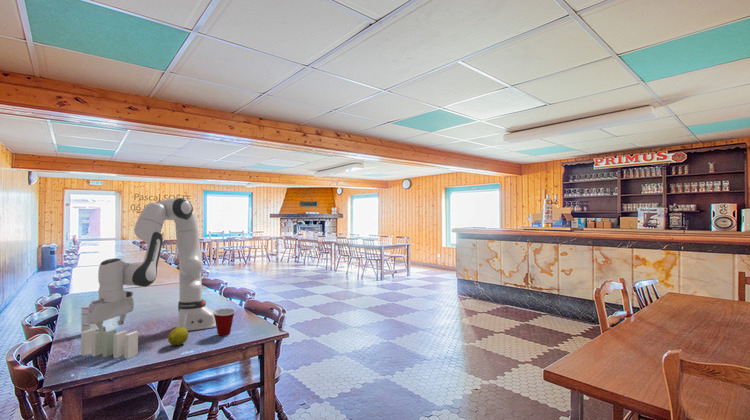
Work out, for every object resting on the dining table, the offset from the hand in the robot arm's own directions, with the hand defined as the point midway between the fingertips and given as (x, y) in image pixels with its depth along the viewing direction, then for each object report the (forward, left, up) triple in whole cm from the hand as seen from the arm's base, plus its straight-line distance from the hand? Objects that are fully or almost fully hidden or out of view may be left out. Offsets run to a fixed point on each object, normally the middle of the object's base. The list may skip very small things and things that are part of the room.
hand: (111, 327), depth 159 cm
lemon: (-25, -6, -12) cm, 28 cm away
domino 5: (-9, +5, -12) cm, 16 cm away
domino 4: (-4, +2, -12) cm, 13 cm away
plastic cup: (-44, -17, -12) cm, 48 cm away
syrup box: (+23, -37, -12) cm, 45 cm away
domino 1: (+11, -5, -12) cm, 16 cm away
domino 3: (+1, 0, -12) cm, 12 cm away
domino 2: (+6, -2, -12) cm, 13 cm away
